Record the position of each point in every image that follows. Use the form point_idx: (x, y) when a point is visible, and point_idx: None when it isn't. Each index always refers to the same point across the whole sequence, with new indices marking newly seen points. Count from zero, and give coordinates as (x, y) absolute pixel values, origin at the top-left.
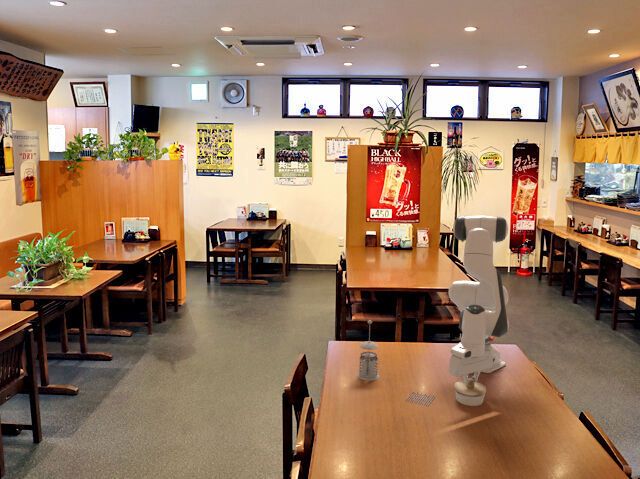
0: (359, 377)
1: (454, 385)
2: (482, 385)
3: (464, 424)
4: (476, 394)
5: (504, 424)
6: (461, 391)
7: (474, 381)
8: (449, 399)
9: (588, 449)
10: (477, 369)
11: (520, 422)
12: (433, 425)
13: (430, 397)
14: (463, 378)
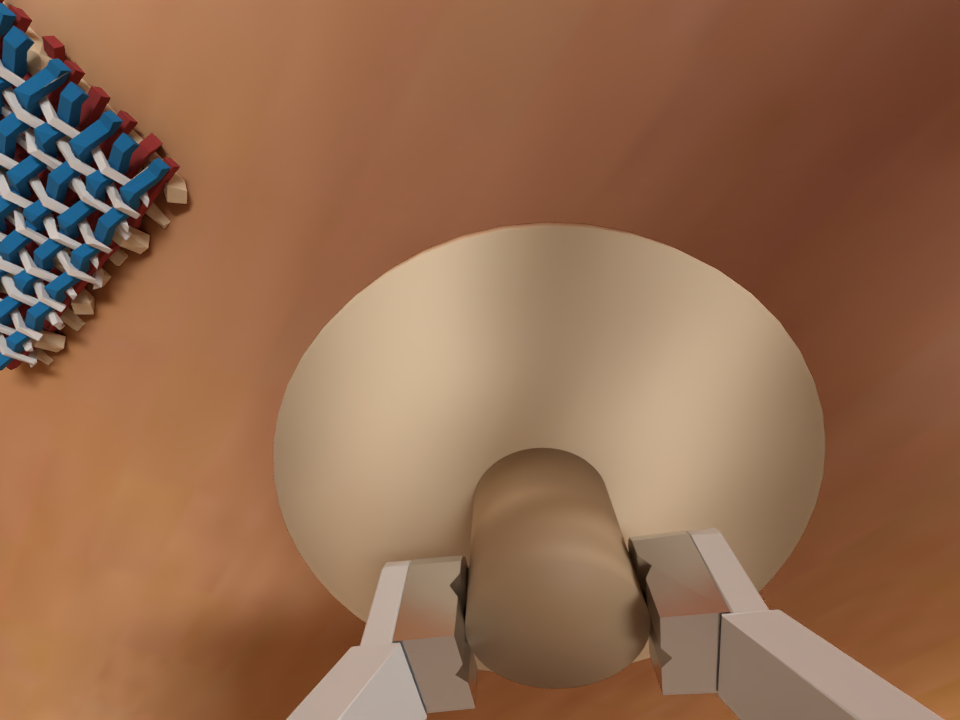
0: None
1: (299, 370)
2: (779, 525)
3: (269, 620)
4: (476, 657)
5: (541, 693)
6: (310, 566)
7: (596, 659)
8: (364, 215)
9: None
10: None
11: (665, 707)
12: (30, 566)
13: (68, 166)
14: (341, 671)
